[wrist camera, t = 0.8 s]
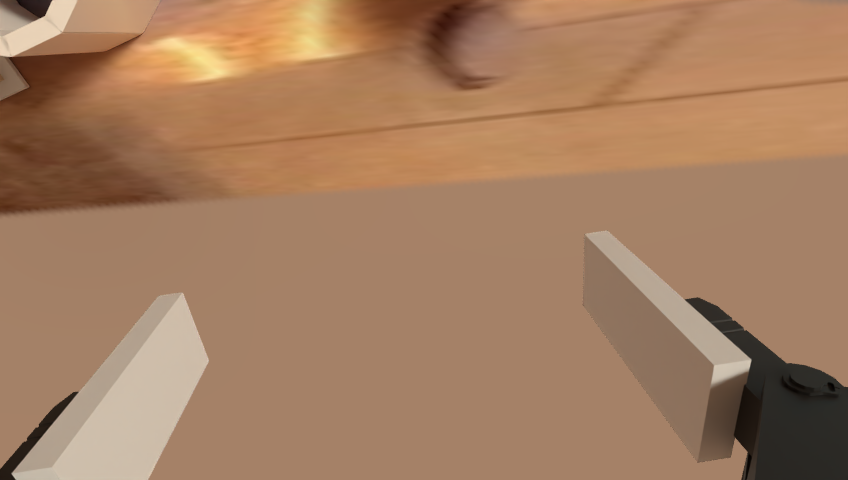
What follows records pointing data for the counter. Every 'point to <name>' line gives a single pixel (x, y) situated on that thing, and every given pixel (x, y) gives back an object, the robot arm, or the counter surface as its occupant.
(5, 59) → the grey mat
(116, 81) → the counter surface
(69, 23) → the ceramic bowl
